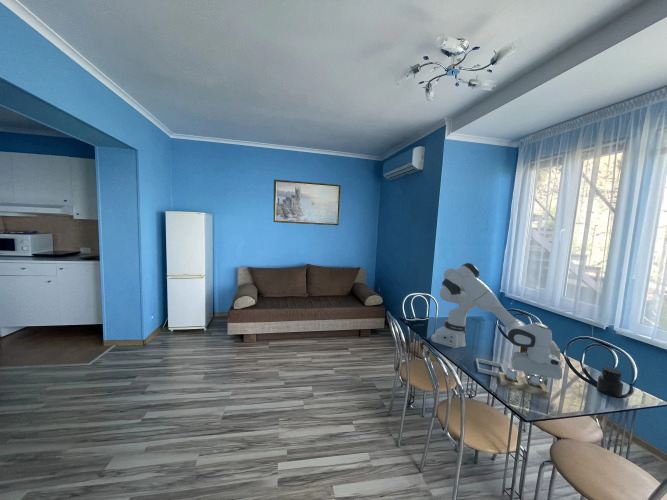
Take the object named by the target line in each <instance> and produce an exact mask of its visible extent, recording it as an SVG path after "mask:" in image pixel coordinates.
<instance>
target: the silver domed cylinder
mask: <svg viewBox="0 0 667 500" xmlns="http://www.w3.org/2000/svg"><path fill="white" fill-rule="evenodd" d="M505 373H506V380H508V381H512V382H516V377H517V376H518V370H515V369H514V368H513V367H512V368H511V367H508V368H507V369H506V372H505Z"/></svg>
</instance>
